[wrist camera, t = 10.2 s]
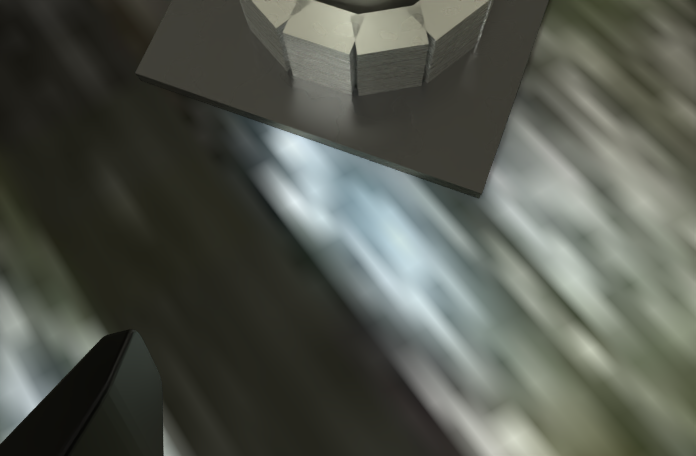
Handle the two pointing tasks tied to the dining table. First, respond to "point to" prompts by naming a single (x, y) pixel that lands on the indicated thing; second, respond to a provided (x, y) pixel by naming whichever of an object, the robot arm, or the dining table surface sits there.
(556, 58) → the dining table surface
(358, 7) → the cream bottle
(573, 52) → the dining table surface
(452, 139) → the segmented ring base
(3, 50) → the dining table surface
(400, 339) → the dining table surface
